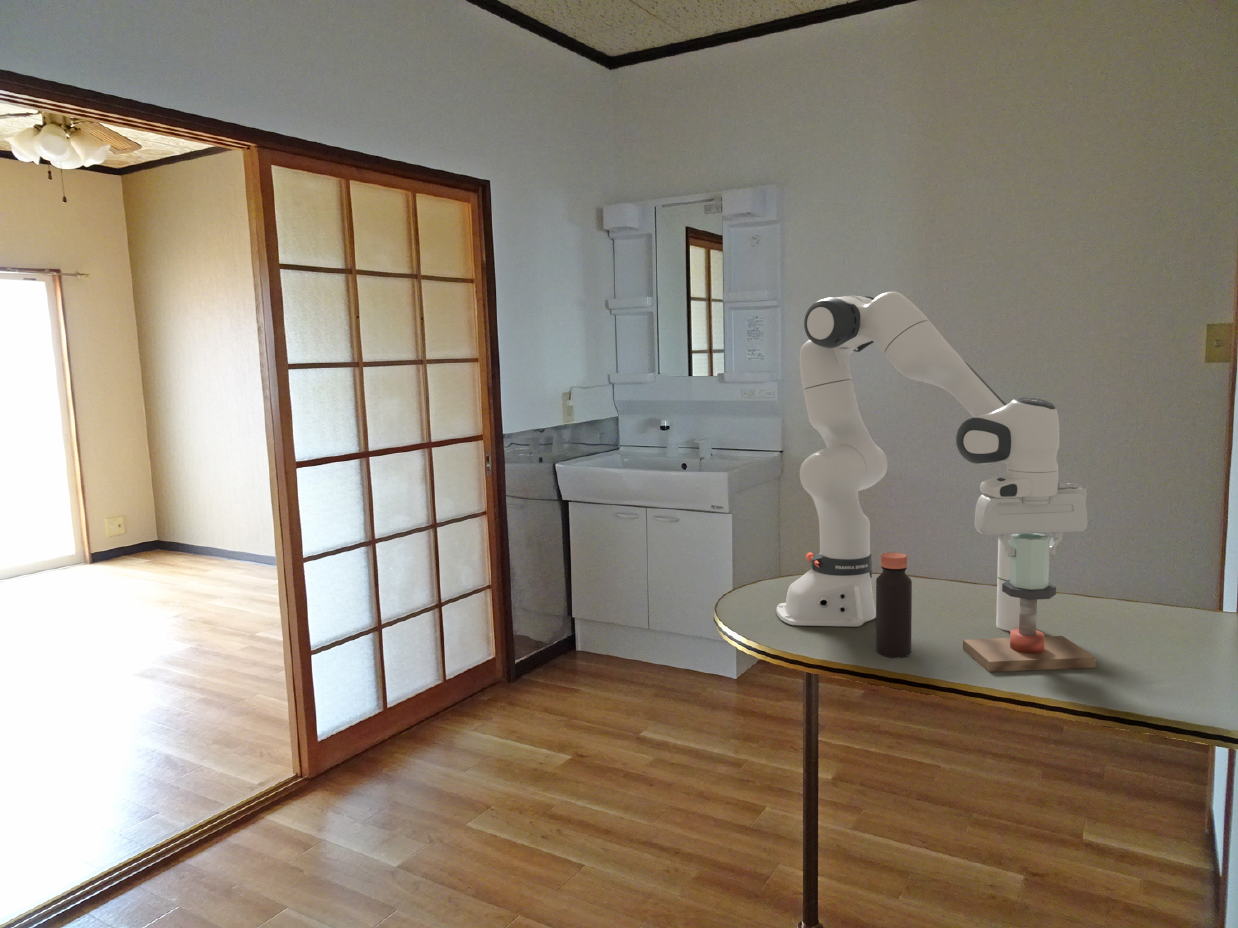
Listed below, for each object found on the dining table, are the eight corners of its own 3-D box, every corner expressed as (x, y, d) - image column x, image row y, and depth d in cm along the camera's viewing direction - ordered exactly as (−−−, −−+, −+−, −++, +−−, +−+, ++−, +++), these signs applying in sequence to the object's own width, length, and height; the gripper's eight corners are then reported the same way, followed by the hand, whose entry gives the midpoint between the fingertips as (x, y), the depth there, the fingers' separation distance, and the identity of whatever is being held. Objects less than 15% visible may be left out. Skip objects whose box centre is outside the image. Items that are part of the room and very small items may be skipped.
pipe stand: (988, 671, 161) (990, 589, 159) (962, 649, 173) (964, 571, 171) (1095, 667, 162) (1098, 584, 159) (1061, 645, 173) (1064, 567, 171)
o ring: (1016, 600, 161) (1016, 592, 161) (996, 587, 170) (996, 579, 170) (1062, 598, 161) (1062, 590, 161) (1039, 585, 170) (1040, 578, 170)
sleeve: (1020, 589, 162) (1021, 540, 161) (1005, 580, 168) (1006, 533, 167) (1053, 588, 162) (1054, 539, 161) (1037, 579, 169) (1038, 532, 167)
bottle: (899, 644, 177) (900, 549, 174) (917, 656, 171) (919, 557, 168) (869, 648, 176) (869, 552, 173) (886, 659, 169) (887, 560, 166)
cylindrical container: (1036, 632, 181) (1040, 515, 178) (1000, 631, 183) (1003, 515, 179) (1027, 621, 188) (1031, 509, 185) (992, 620, 190) (995, 509, 186)
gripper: (1077, 479, 166) (1075, 549, 168) (971, 483, 166) (970, 553, 168) (1096, 484, 160) (1093, 557, 162) (985, 489, 160) (984, 561, 161)
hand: (1029, 555), depth 165 cm, fingers closed on sleeve, 6 cm apart
